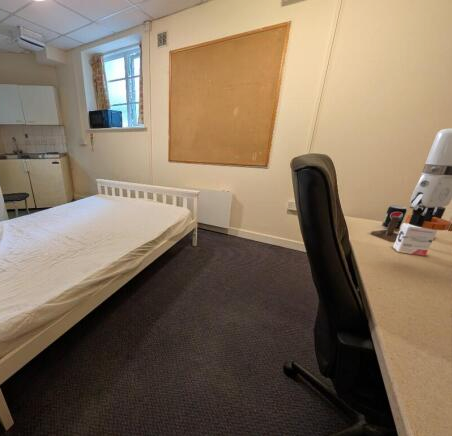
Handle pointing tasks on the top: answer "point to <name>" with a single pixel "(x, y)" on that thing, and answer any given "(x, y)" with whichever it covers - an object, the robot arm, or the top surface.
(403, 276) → the top surface
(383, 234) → the rack
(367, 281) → the top surface
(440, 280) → the top surface
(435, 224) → the orange ring
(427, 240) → the ink box
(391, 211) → the beverage can
